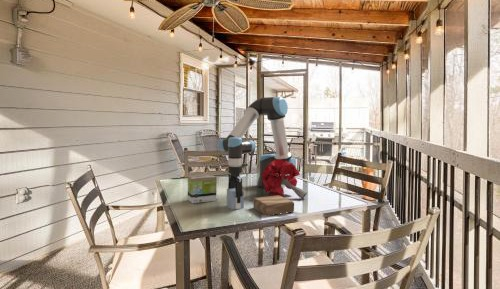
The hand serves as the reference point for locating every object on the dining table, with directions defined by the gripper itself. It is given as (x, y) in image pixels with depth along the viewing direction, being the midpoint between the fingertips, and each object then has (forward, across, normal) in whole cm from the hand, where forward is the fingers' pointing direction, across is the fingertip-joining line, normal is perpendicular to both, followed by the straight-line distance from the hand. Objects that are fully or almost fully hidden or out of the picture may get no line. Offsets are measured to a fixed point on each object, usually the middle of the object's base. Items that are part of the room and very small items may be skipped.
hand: (235, 206), depth 174 cm
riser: (+1, +14, +16) cm, 21 cm away
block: (0, 0, 0) cm, 0 cm away
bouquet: (0, -8, +36) cm, 37 cm away
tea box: (+1, -22, -12) cm, 25 cm away
